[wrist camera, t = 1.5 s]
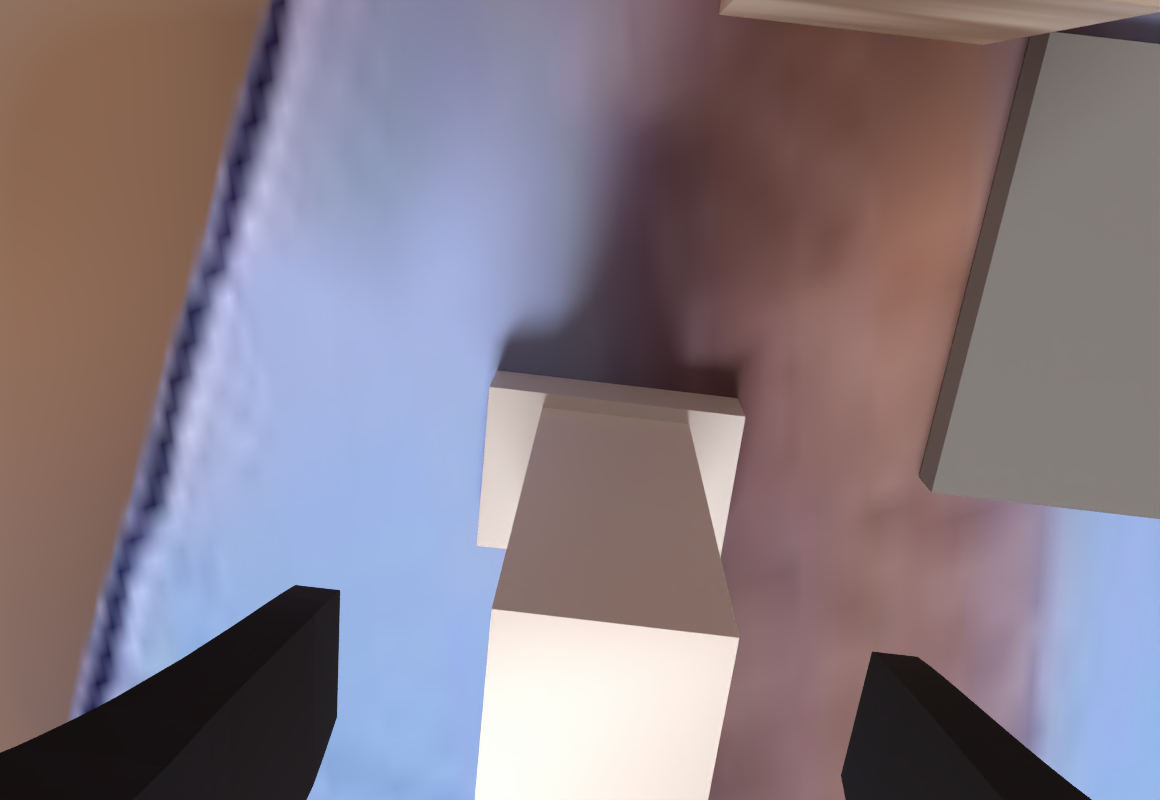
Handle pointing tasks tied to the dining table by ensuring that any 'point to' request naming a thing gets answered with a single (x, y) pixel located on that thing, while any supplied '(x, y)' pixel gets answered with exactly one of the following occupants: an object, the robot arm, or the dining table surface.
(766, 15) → the wooden block
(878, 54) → the dining table surface
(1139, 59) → the slate mat
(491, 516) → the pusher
